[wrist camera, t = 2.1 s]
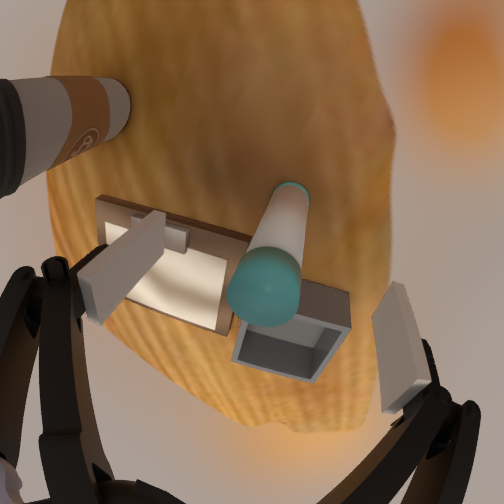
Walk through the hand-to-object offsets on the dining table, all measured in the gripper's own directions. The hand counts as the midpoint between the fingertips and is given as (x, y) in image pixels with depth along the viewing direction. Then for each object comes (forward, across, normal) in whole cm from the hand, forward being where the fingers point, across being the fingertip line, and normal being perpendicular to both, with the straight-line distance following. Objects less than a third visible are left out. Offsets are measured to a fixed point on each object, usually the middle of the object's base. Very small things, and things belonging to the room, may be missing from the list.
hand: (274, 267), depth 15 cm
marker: (+10, 0, 0) cm, 10 cm away
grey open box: (+10, +3, -12) cm, 16 cm away
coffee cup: (+10, -19, +6) cm, 22 cm away
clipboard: (+10, -11, -10) cm, 18 cm away
